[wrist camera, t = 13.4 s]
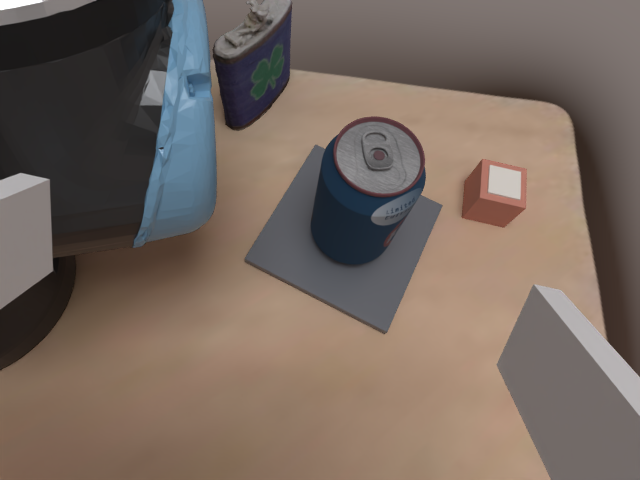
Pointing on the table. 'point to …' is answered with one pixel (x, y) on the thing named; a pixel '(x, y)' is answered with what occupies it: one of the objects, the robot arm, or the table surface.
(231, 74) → the flask
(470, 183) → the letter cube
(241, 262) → the table surface
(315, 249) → the plate
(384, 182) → the soda can
